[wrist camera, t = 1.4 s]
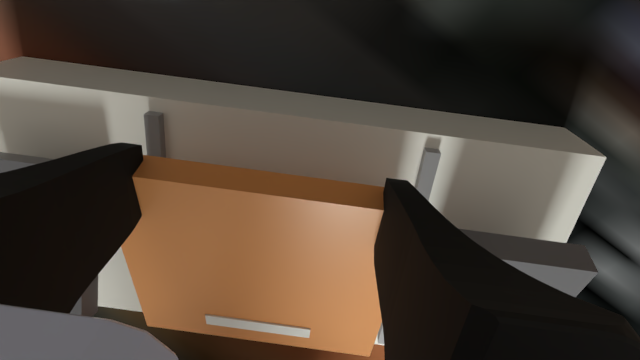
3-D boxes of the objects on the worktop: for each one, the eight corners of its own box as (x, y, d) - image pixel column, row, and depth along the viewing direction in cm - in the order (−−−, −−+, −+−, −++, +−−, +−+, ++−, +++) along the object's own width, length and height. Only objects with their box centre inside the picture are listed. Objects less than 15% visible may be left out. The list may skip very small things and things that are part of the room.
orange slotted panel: (369, 333, 17) (369, 358, 16) (157, 304, 17) (146, 327, 16) (416, 191, 12) (420, 217, 11) (113, 150, 12) (95, 173, 11)
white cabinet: (489, 312, 21) (519, 386, 17) (64, 254, 21) (1, 315, 17) (564, 127, 16) (628, 172, 12) (22, 56, 16) (-75, 79, 13)
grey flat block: (511, 334, 16) (518, 360, 15) (412, 320, 16) (413, 346, 15) (584, 245, 13) (599, 274, 12) (455, 228, 13) (461, 255, 12)
